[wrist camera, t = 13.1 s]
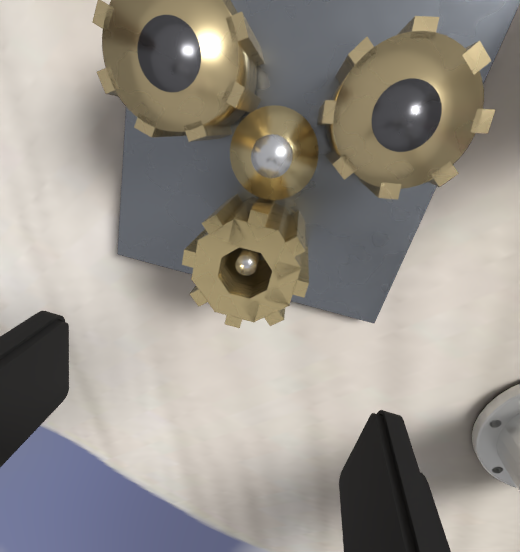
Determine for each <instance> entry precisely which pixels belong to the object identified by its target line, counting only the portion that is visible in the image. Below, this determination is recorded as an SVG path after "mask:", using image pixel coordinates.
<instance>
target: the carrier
mask: <svg viewBox="0 0 520 552" xmlns="http://www.w3.org/2000/svg"><path fill="white" fill-rule="evenodd" d="M231 2H232V4H233V5H234V7H235V9H236V11H237V12H238V13H239V12H243V14H244V16H245V18H246V20H247V22H248V24H249V26H250V28H251V29H252V31H253V33H254V35H255V37H256V39H257V41H258V43H259V45H260V47H261V51H262V55H263V59H264V63H265V64H262V65H260V66H257V84H256V90H255V95H256V96H258V97H259V98H260V99H261V101H260V103H259V105H258V107H257V109H256V110H255V111H253V112H251V113H250V112H247V111H246V112H245V114H244V115H243V116H242V117H241V118H240V119H239V120H238V121H237V122H235V123H234V124H232V125H231V126H230V129H231V132H232V135H229V136H226V137H223V138H220V139H212V140H202V141H192V142H189V141H188V138H187V136H171V137H150V136H148V135H146V134H145V133H143V132H141V131H139V130H138V129H136V128H134V126H135V123H136V120H137V116H135V115H134V114H133V113H132V112H131V111H130V110H129V109H128V108H127V107H126V116H125V134H124V151H123V169H122V186H121V204H120V221H119V239H118V254H119V255H122V256H126V257H130V258H134V259H137V260H141V261H145V262H148V263H152V264H156V265H159V266H163V267H167V268H171V269H174V270H178V271H182V272H185V273H189V274H192V273H193V268H192V267H189V266H185V265H182V260H183V254H184V249H185V248H186V247H187V246H188V245H189V244H190V243H191V242H192V241H193V240H194V239H195V238H196V237H197V236H198V235H199V234H200V233H201V232H202V231H203V230H204V229H205V228H204V226H203V225H202V223H203V222H204V221H205V220H206V219H207V218H208V217H209V216H210V215H211V214H212V213H214V212H215V211H216V210H217V209H218V208H219V207H220V206H221V205H222V204H223V203H225V202H226V201H227V200H229V199H230V198H232V197H233V196H235V195H237V194H238V196H239V197H240V199H241V201H242V202H244V201H246V200H247V199H249V198H250V197H253V198H257V199H258V198H259V197H260V198H263V199H268V200H275V203H276V204H279V205H283V206H285V207H286V209H287V210H288V212H289V214H290V215H291V214H293V213H295V212H297V211H298V210H299V212H300V213H301V215H302V217H303V219H304V220H305V246H306V247H308V265H309V285H308V288H307V291H306V294H305V297H304V298H303V297H300V296H296V295H292V298H291V301H293V302H297V303H300V304H304V305H308V306H311V307H315V308H319V309H323V310H326V311H330V312H334V313H337V314H341V315H345V316H348V317H352V318H356V319H360V320H363V321H367V322H371V323H375V321H376V319H377V316H378V314H379V312H380V310H381V308H382V305H383V303H384V301H385V299H386V297H387V294H388V292H389V290H390V288H391V286H392V283H393V281H394V279H395V277H396V275H397V272H398V270H399V268H400V266H401V264H402V261H403V259H404V257H405V255H406V253H407V250H408V248H409V246H410V244H411V242H412V239H413V237H414V235H415V233H416V231H417V228H418V226H419V224H420V222H421V220H422V217H423V215H424V213H425V211H426V209H427V206H428V204H429V202H430V200H431V198H432V195H433V193H434V191H435V189H436V187H437V186H436V185H433V184H431V183H429V182H426V183H423V184H421V185H418V186H414V187H410V188H403V189H400V193H399V198H398V199H386V198H378V197H377V196H376V195H375V194H374V193H372V192H371V191H370V190H369V189H368V188H367V187H366V186H365V185H364V184H363V183H362V182H360V181H359V177H358V176H357V175H355V174H354V173H352V174H351V175H350V176H349V177H347V178H346V179H345V180H344V179H343V177H342V176H341V175H340V174H339V172H338V171H337V170H336V169H335V167H334V166H333V165H332V164H331V162H330V161H329V160H328V158H327V157H326V156H325V155H326V154H327V153H328V152H330V151H331V148H330V145H329V143H328V140H327V135H326V126H325V125H317V124H318V116H319V108H320V107H321V105H322V104H323V102H324V101H325V100H331V98H332V96H333V94H334V93H335V91H336V89H337V88H338V86H339V85H340V84H341V83H340V82H339V80H338V79H337V78H336V74H337V73H338V71H339V69H340V68H341V66H342V64H343V62H344V61H345V59H346V57H347V55H348V54H349V53H350V52H351V51H352V50H353V49H354V48H355V47H356V46H357V45H358V44H359V43H360V42H361V41H362V40H364V39H365V38H366V37H368V38H369V40H370V41H371V43H372V44H373V46H374V47H375V46H376V45H378V44H379V43H381V42H383V41H385V40H387V39H389V38H391V37H393V36H396V35H397V34H398V33H399V32H400V31H401V30H402V29H403V28H404V27H405V26H406V25H407V24H408V23H409V22H410V21H411V20H412V19H413V18H414V17H415V16H430V17H439V21H438V26H437V30H436V32H437V33H440V34H444V35H446V36H448V37H450V38H452V39H454V40H455V41H457V42H458V43H460V44H461V45H462V46H463V47H464V48H466V47H468V46H470V45H472V44H474V43H476V42H478V41H480V42H481V44H482V45H483V47H484V49H485V50H486V52H487V54H488V56H489V57H490V59H491V62H489V63H488V64H487V65H486V66H484V67H483V68H482V69H481V70H480V74H481V78H482V83H484V81H485V79H486V77H487V75H488V72H489V70H490V68H491V66H492V64H493V61H494V59H495V57H496V55H497V53H498V50H499V48H500V46H501V44H502V42H503V39H504V37H505V35H506V33H507V31H508V28H509V26H510V24H511V22H512V20H513V17H514V15H515V13H516V11H517V9H518V6H519V4H520V0H231ZM241 249H242V251H241V253H240V255H239V257H238V259H237V261H236V263H235V267H236V270H237V271H238V272H239V273H240V274H242V275H245V276H248V275H251V274H253V273H254V272H255V270H256V267H257V264H258V262H259V260H264V257H263V255H262V254H261V253H259V252H255V251H252V250H248V249H244V248H241Z"/></svg>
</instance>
